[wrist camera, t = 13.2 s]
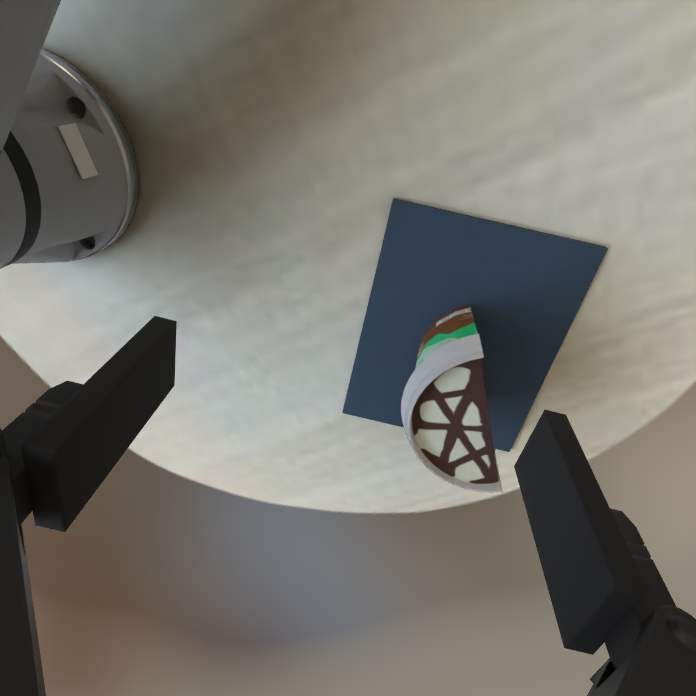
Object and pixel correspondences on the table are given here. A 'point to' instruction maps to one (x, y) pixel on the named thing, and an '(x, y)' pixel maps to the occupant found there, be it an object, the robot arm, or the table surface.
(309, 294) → the table surface
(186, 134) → the table surface
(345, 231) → the table surface
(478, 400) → the food container
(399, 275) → the mat
